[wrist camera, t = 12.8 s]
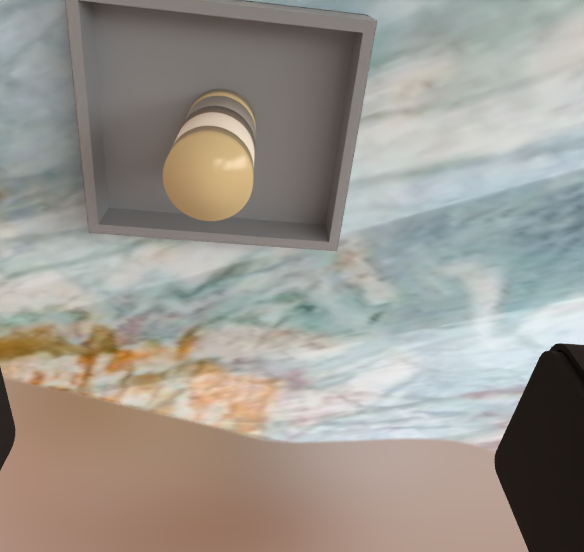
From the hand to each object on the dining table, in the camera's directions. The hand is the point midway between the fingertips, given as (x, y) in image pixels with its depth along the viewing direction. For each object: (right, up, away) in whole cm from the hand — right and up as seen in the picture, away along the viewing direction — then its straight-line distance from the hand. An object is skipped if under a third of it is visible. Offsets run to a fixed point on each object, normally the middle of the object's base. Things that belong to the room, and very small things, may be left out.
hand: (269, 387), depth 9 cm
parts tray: (-4, +11, +23) cm, 26 cm away
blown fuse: (-4, +11, +22) cm, 25 cm away
